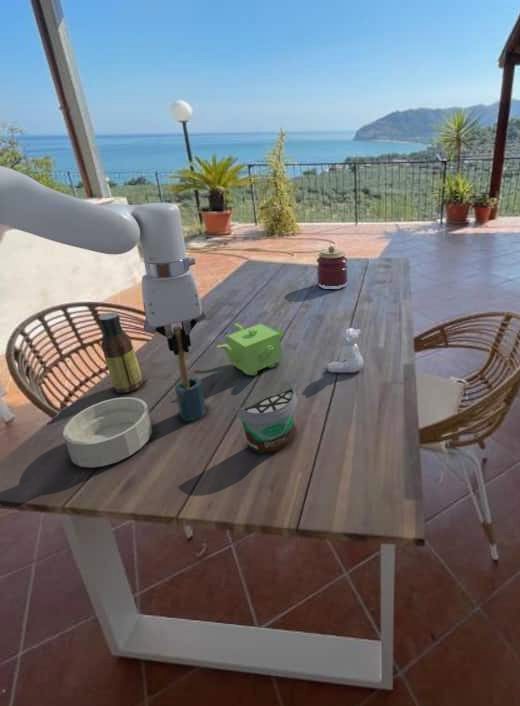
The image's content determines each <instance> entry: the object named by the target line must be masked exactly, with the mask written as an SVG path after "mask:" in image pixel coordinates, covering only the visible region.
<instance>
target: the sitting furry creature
mask: <svg viewBox="0 0 520 706" xmlns="http://www.w3.org/2000/svg"><path fill="white" fill-rule="evenodd" d="M359 335H361V329H354V328H353V327H350V328H347V329H346V330H345V332H343V335H342V339H341V343H342V348H341V351H340V355H339V359H338V361H332V362H330V363H328V365H327V371H328V372H329V373H333V374H334V373H338V374H339V373H341V374H343V373H344V374H347V373H350V374H354V373H357V372H359V371H360V370H361V369H362V368H363V367H364V361H365V360H364V358H363V356H362V354H361V353H360V349H359V346H358V344H357V343H358V340H359Z"/></svg>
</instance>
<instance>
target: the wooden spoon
mask: <svg viewBox="0 0 520 706" xmlns="http://www.w3.org/2000/svg"><path fill="white" fill-rule="evenodd" d="M181 329H182V326H177V325H176V326H174V327H172V332H173V333H174V336H175V337H176V339H177V345H178V352H179V354H178V355H177V360H178V366H179V372H180V379H181V380H182V385H183V387H184V388H189V386H190V383H189V378H190V377H189V371H188V365H187V359H186V352H185V351H184V347H183V340H182V333H181Z"/></svg>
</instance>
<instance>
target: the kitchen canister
mask: <svg viewBox="0 0 520 706" xmlns="http://www.w3.org/2000/svg"><path fill="white" fill-rule="evenodd" d="M345 256H346V253H345V252H344V251H342V250H341V249H337V248H335V246H334V245H330V246H329V247H328V249H323V250H322V251H320V252H319V253H318V257H317V258H316V262H317V267H316V269H317V284H318V283H319V284H321V285H325V286H339V285H343V284H345V283H346V282H347V283H348V265H347V261H348V258H347V257H345Z"/></svg>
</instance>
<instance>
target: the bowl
mask: <svg viewBox="0 0 520 706" xmlns="http://www.w3.org/2000/svg"><path fill="white" fill-rule="evenodd" d="M149 411H150V410H149V406H148V404H147V403H146V402H145V400H143V399H141V398H138V397H131V396H122V397H115V398H110V399H106V400H103V401H100V402H97V403H94V404H92V405H90V406H88V407H86V408H85V409H82V410H81V411H79V412H78V413H76V414H75V415H74V416H73V417H71V418H70V420H69V421H68V422H67V423H66V424H65V425H64V429H63V432H62V435H63V439H64V442H65V446H66V448H67V451H68V454H69V458H70V460H71V462H72V463H73V464H75V465H76V466H78V467H81V468H88V469H89V468H90V469H93V468H100V467H105V466H109V465H113V464H115V463H118V462H120V461H123V460H124V459H126V458H128V457H130V456H132V455H134V454H135V453H136V452H138V451H139V450H140V449H142V448H143V446H145V444H147V443H148V441H149V440H150V438H151V436H152V434H153V425H152V421H151V415H150V412H149Z"/></svg>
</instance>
